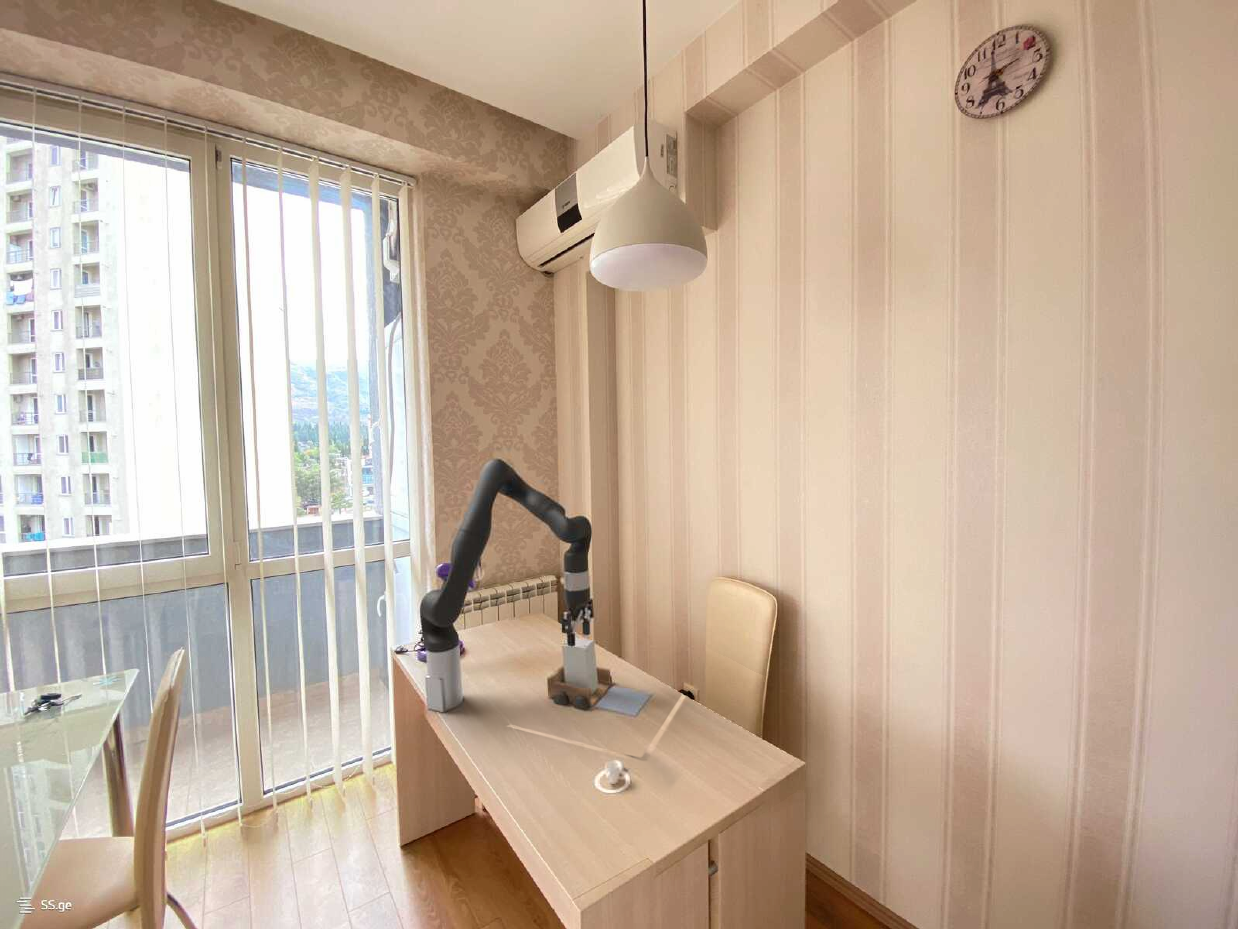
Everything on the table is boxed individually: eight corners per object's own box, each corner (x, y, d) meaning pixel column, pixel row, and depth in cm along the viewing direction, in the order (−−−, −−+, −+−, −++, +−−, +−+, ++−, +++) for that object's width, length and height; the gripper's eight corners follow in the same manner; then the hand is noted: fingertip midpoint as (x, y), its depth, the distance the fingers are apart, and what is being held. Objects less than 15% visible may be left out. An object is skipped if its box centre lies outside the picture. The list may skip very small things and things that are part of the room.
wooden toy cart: (587, 714, 140) (586, 690, 139) (545, 704, 146) (543, 681, 145) (613, 686, 155) (612, 664, 154) (574, 678, 161) (572, 656, 160)
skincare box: (598, 688, 151) (596, 639, 150) (589, 698, 145) (586, 648, 144) (574, 683, 154) (571, 636, 153) (563, 693, 149) (561, 644, 148)
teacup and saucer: (612, 764, 119) (612, 747, 119) (639, 778, 114) (639, 760, 114) (587, 785, 113) (586, 767, 112) (614, 801, 108) (614, 782, 107)
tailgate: (595, 709, 141) (635, 720, 136) (595, 705, 141) (635, 716, 136) (614, 689, 152) (651, 698, 147) (614, 685, 152) (651, 694, 147)
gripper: (578, 577, 155) (580, 629, 156) (552, 591, 142) (554, 647, 143) (600, 580, 152) (601, 633, 153) (575, 594, 139) (577, 651, 140)
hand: (579, 640), depth 148 cm, fingers open, 8 cm apart
